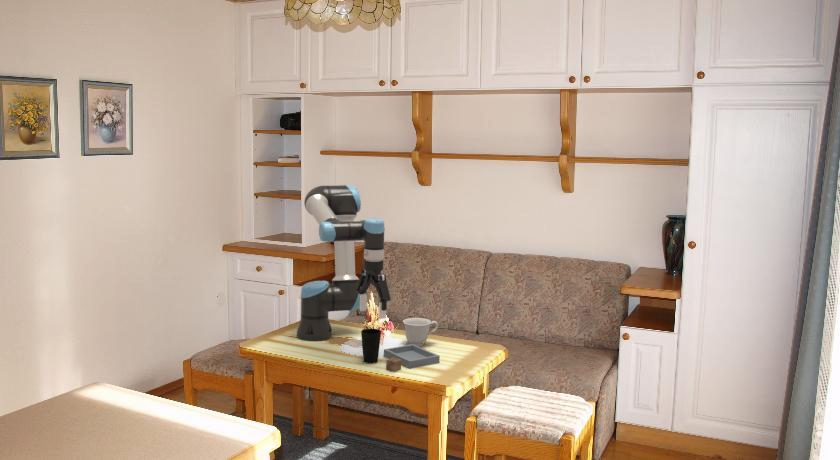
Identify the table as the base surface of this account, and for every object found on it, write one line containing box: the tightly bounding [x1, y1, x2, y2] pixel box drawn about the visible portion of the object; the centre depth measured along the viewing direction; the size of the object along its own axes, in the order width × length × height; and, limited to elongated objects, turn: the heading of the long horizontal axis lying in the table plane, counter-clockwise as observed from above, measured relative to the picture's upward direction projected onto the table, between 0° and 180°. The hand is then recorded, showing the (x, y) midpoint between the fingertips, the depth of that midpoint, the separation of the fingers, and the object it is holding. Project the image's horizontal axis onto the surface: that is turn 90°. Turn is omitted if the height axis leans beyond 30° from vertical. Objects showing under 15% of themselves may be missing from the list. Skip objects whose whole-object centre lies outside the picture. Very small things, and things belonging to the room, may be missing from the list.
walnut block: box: [385, 358, 402, 373], centre depth 287 cm, size 4×4×4 cm
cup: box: [360, 328, 382, 365], centre depth 296 cm, size 8×8×12 cm
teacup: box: [402, 317, 439, 347], centre depth 321 cm, size 12×15×10 cm
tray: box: [383, 344, 440, 369], centre depth 300 cm, size 18×14×3 cm
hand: (372, 314), depth 294 cm, fingers open, 13 cm apart
